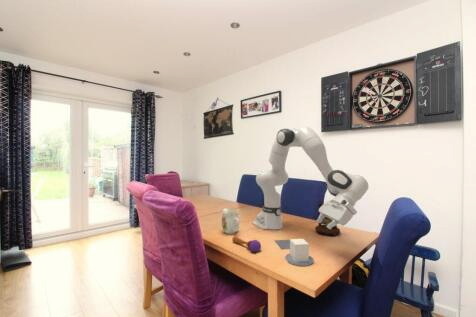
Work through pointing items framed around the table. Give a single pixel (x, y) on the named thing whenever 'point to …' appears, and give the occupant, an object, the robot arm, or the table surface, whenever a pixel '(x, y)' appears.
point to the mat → (283, 244)
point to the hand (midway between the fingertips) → (322, 224)
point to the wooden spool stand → (323, 228)
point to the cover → (299, 250)
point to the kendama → (249, 244)
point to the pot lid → (305, 263)
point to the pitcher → (230, 221)
